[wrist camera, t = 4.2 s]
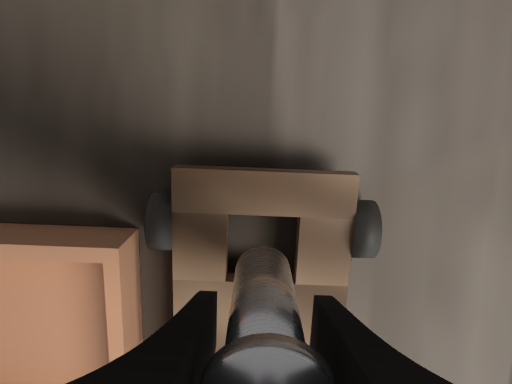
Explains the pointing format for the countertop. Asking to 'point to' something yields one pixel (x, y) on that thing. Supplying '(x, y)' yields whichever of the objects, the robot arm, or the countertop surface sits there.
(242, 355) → the pin
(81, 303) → the tray
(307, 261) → the trolley
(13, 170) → the countertop surface
